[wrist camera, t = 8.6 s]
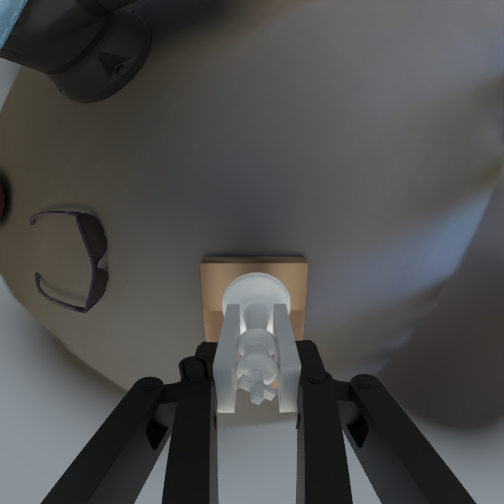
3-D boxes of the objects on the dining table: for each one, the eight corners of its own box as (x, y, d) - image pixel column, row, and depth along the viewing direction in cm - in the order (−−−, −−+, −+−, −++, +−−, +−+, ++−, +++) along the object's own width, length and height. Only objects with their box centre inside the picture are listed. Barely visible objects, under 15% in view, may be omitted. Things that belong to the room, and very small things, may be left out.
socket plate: (213, 374, 38) (210, 387, 35) (204, 256, 33) (199, 263, 31) (295, 374, 38) (297, 387, 35) (303, 256, 33) (308, 263, 30)
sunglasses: (114, 304, 36) (98, 320, 31) (39, 289, 35) (22, 300, 31) (109, 209, 32) (89, 213, 28) (32, 208, 32) (11, 212, 27)
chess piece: (245, 259, 19) (234, 330, 9) (303, 294, 20) (341, 382, 10) (210, 313, 20) (178, 408, 10) (266, 344, 21) (272, 445, 11)
